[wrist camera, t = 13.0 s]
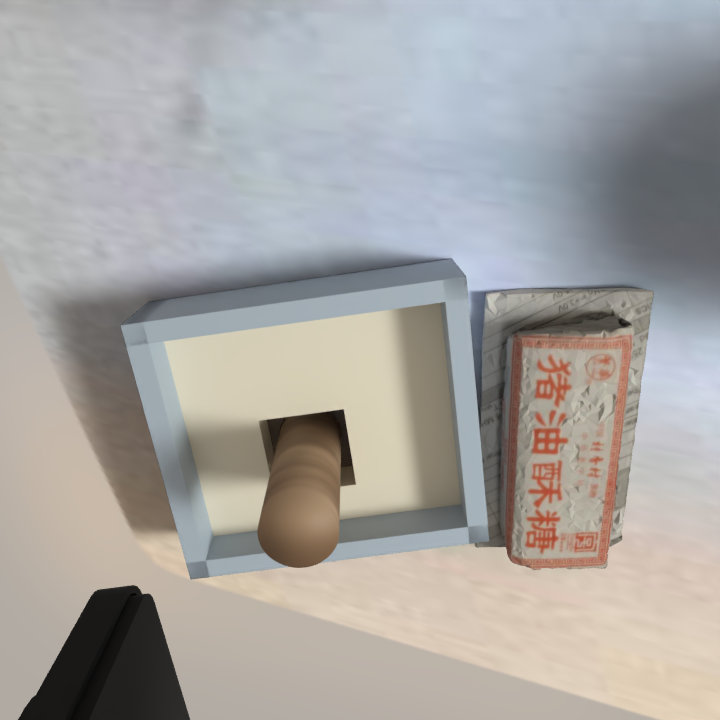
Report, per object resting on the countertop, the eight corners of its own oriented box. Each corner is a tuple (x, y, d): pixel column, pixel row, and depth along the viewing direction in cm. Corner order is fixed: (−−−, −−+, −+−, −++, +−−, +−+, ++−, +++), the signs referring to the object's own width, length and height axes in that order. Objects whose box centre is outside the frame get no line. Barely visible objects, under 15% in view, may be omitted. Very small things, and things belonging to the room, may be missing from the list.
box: (148, 302, 39) (120, 325, 34) (451, 258, 38) (466, 276, 34) (207, 531, 44) (190, 579, 40) (474, 497, 44) (489, 541, 39)
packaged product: (642, 579, 41) (485, 583, 41) (613, 533, 45) (472, 538, 45) (682, 303, 35) (497, 308, 35) (643, 282, 39) (481, 287, 39)
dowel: (274, 410, 41) (250, 503, 31) (336, 402, 41) (332, 492, 31) (285, 465, 43) (265, 572, 32) (345, 457, 43) (344, 562, 32)
